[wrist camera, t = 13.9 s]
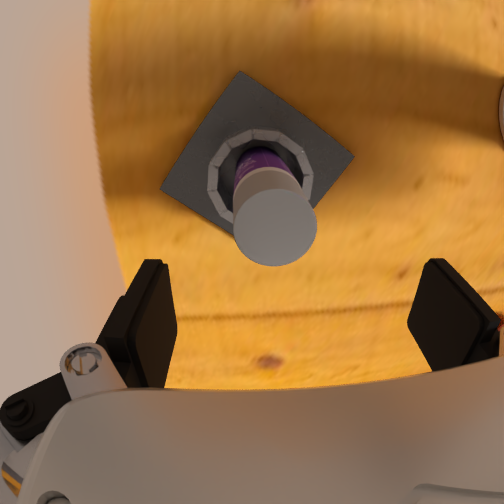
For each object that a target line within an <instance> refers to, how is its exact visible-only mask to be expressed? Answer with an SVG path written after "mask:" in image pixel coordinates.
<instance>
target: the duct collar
mask: <svg viewBox="0 0 504 504" xmlns="http://www.w3.org/2000/svg"><path fill="white" fill-rule="evenodd" d="M256 146H264V147H268V148H271V149H272V150H274V151H275V152H276V153H277V154H278V155H279V156H280V157H281V158H282V160H283V161H284V163H285V164H286V166H287V167H288V168H289V170H290V171H291V173H292V174H293V176H294V177H295V178H296V180H297V181H298V183H299V185H300V187H301V189H302V190H303V192H304V194H305V196H306V198H307V199H308V201H309V203H310V205H311V207H312V209H313V208H314V207H315V206H316V205H317V204H318V202H319V201H320V200H321V199H322V197H323V196H324V195H325V194H326V192H327V191H328V190H329V189H330V187H331V186H332V185H333V183H334V182H335V181H336V180H337V178H338V177H339V176H340V175H341V173H342V172H343V171H344V170H345V168H346V167H347V166H348V165H349V163H350V162H351V161H352V160H353V158H354V157H355V156H353V155H352V154H351V153H350V152H349V151H348V150H346V149H345V148H344V147H343V146H342V145H340V144H339V143H338V142H337V141H336V140H334V139H333V138H332V137H331V136H330V135H328V134H327V133H326V132H325V131H323V130H322V129H321V128H320V127H318V126H317V125H316V124H314V123H313V122H312V121H311V120H309V119H308V118H307V117H305V116H304V115H303V114H301V113H300V112H299V111H297V110H296V109H295V108H293V107H292V106H291V105H289V104H288V103H286V102H285V101H284V100H282V99H281V98H280V97H278V96H277V95H275V94H274V93H272V92H271V91H270V90H268V89H267V88H265V87H264V86H262V85H261V84H259V83H258V82H256V81H255V80H253V79H252V78H250V77H249V76H247V75H246V74H244V73H243V72H241V71H239V72H238V74H237V75H236V76H235V78H234V79H233V80H232V81H231V83H230V84H229V86H228V87H227V88H226V90H225V91H224V92H223V94H222V95H221V96H220V98H219V99H218V101H217V102H216V103H215V105H214V106H213V108H212V109H211V110H210V112H209V113H208V115H207V116H206V118H205V119H204V120H203V122H202V123H201V125H200V126H199V128H198V129H197V131H196V132H195V134H194V135H193V137H192V138H191V140H190V141H189V143H188V144H187V146H186V147H185V149H184V150H183V152H182V154H181V155H180V157H179V158H178V160H177V161H176V163H175V165H174V166H173V168H172V169H171V171H170V173H169V174H168V176H167V178H166V179H165V181H164V183H163V184H162V186H161V188H160V190H162V191H163V192H165V193H166V194H168V195H170V196H171V197H173V198H174V199H176V200H178V201H179V202H181V203H183V204H184V205H186V206H187V207H189V208H191V209H192V210H194V211H195V212H197V213H199V214H200V215H202V216H203V217H205V218H207V219H208V220H210V221H211V222H213V223H215V224H216V225H218V226H219V227H221V228H223V229H224V230H226V231H227V232H229V233H231V234H232V235H234V233H233V193H234V181H235V170H236V164H237V161H238V159H239V157H240V156H241V155H242V153H243V152H245V151H246V150H248V149H250V148H252V147H256Z"/></svg>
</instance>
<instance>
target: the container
mask: <svg viewBox="0 0 504 504" xmlns="http://www.w3.org/2000/svg"><path fill="white" fill-rule="evenodd" d="M316 232H317V220H316V216H315V213H314V211H313V209H312V207H311V205H310V203H309V201H308V199H307V198H306V196H305V194H304V192H303V190H302V189H301V187H300V185H299V183H298V181H297V180H296V178H295V177H294V176H293V174H292V173H291V171H290V170H289V168H288V167H287V166H286V164H285V163H284V161H283V160H282V158H281V157H280V156H279V155H278V154H277V153H276V152H275V151H274V150H272V149H271V148H268V147H264V146H256V147H252V148H250V149H248V150H246V151H245V152H243V153H242V155H241V156H240V157H239V159H238V161H237V164H236V170H235V181H234V193H233V233H234V238H235V241H236V244H237V246H238V247H239V249H240V250H241V252H242V253H243V254H244V255H245V256H246V257H247V258H249V259H250V260H252V261H254V262H256V263H258V264H261V265H266V266H282V265H286V264H289V263H292V262H294V261H296V260H297V259H299V258H300V257H302V256H303V255H304V254H305V253H306V252H307V251H308V250H309V248H310V247H311V245H312V244H313V241H314V239H315V236H316Z"/></svg>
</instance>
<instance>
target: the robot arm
mask: <svg viewBox="0 0 504 504" xmlns="http://www.w3.org/2000/svg"><path fill="white" fill-rule="evenodd" d="M499 120H500V128H501V132H502V136H503V139H504V87H503V90H502V93H501V97H500V104H499ZM500 321H501V319H500V318H499V317H498V316H497V314H496V313H495V312H494V311H493V310H492V309H491V308H490V306H489V305H488V304H487V303H486V302H485V301H484V300H483V299H482V298H481V296H480V295H479V294H478V293H477V292H476V291H475V290H474V289H473V288H472V287H471V286H470V285H469V283H468V282H467V281H466V280H465V279H464V278H463V277H462V276H461V275H460V274H459V273H458V272H457V271H456V270H455V269H454V268H453V267H452V266H451V265H450V264H449V263H448V262H447V261H446V260H445V259H443V258H431V259H429V261H428V262H427V263H425V265H424V268H423V271H422V275H421V278H420V282H419V285H418V289H417V292H416V295H415V298H414V301H413V304H412V308H411V311H410V314H409V317H408V320H407V325H408V328H409V330H410V332H411V334H412V335H413V337H414V339H415V341H416V342H417V344H418V346H419V348H420V349H421V351H422V353H423V355H424V357H425V358H426V360H427V362H428V364H429V366H430V367H431V369H432V371H433V372H427V373H422V374H416V375H410V376H404V377H398V378H392V379H385V380H377V381H370V382H362V383H353V384H343V385H333V386H320V387H307V388H289V389H261V390H214V389H174V388H164V386H165V382H166V378H167V373H168V369H169V365H170V361H171V357H172V353H173V349H174V345H175V341H176V337H177V322H176V316H175V310H174V303H173V297H172V290H171V283H170V276H169V269H168V265H167V264H163V262H162V260H161V259H145V260H144V261H143V263H142V265H141V267H140V269H139V270H138V272H137V274H136V276H135V277H134V279H133V281H132V283H131V285H130V286H129V288H128V290H127V292H126V294H125V296H121V297H120V298H119V299H118V301H117V303H116V305H115V307H114V308H113V310H112V312H111V314H110V316H109V318H108V320H107V322H106V324H105V325H104V327H103V329H102V331H101V333H100V335H99V337H98V339H97V341H96V343H82V344H78V345H76V346H73V347H72V348H70V349H69V350H67V351H66V352H65V353H64V355H63V356H62V358H61V361H60V370H61V372H60V373H58V374H56V375H54V376H52V377H49V378H47V379H45V380H43V381H41V382H39V383H37V384H34V385H32V386H30V387H28V388H26V389H24V390H22V391H20V392H17V393H15V394H13V395H12V396H10V397H8V398H7V399H6V401H4V403H3V404H2V406H1V408H0V504H504V326H503V327H502V328H501V329H500V331H498V329H497V327H498V325H499V323H500Z"/></svg>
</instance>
